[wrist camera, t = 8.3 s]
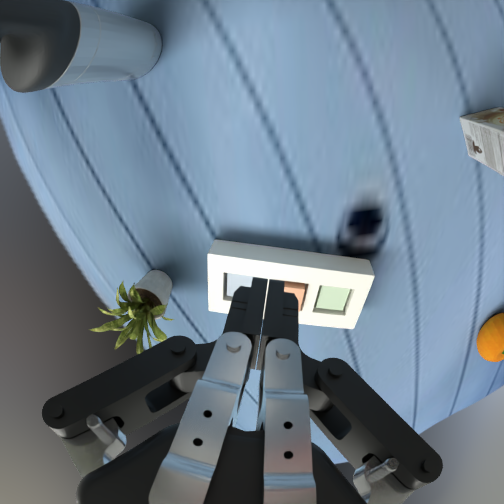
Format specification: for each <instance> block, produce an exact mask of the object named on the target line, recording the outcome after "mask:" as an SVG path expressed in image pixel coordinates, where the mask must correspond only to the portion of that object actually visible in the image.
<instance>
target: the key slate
mask: <svg viewBox="0 0 504 504" xmlns="http://www.w3.org/2000/svg"><path fill="white" fill-rule="evenodd" d="M252 279H253V276H246V275H239V274H232V273H227V296H233V294H234V292H235V291H236V290H237V289H238V288H239V287H240V286H245V287H251V284H252Z"/></svg>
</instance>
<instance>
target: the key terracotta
mask: <svg viewBox="0 0 504 504" xmlns="http://www.w3.org/2000/svg"><path fill="white" fill-rule="evenodd" d="M275 280H276V279H275ZM281 281H283V280H281ZM284 292H289V293H294V294H295V296H296V297H297V299H298V301H299V310H298V311H299V312H300V308H301V304H302V300H303V296H304V292H305V283H298V282H291V281H285V285H284Z"/></svg>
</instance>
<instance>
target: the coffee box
mask: <svg viewBox="0 0 504 504" xmlns="http://www.w3.org/2000/svg"><path fill="white" fill-rule="evenodd" d="M460 122H461V126H462V130H463V134H464V138H465V142H466V146H467V151H468V155H469V156H470V157H472V158H474V159H476V160H477V161H479V162H481V163H483V164H484V165H486V166H488V167H490V168H491V169H493V170H495V171H496V172H498V173H499V174H501V175H503V176H504V108H501V107H497V108H493V109H489V110H485V111H481V112H477V113H473V114H469V115H466V116H462V117H460Z"/></svg>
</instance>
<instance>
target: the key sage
mask: <svg viewBox="0 0 504 504" xmlns="http://www.w3.org/2000/svg"><path fill="white" fill-rule="evenodd" d="M349 291H350V289H347V288H339V287H330V286H322V285H320V286H319V290H318V294H317V297H316V308H323V309H333V310H342V311H343V308H344V306H345V303H346V300H347V297H348V294H349Z"/></svg>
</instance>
